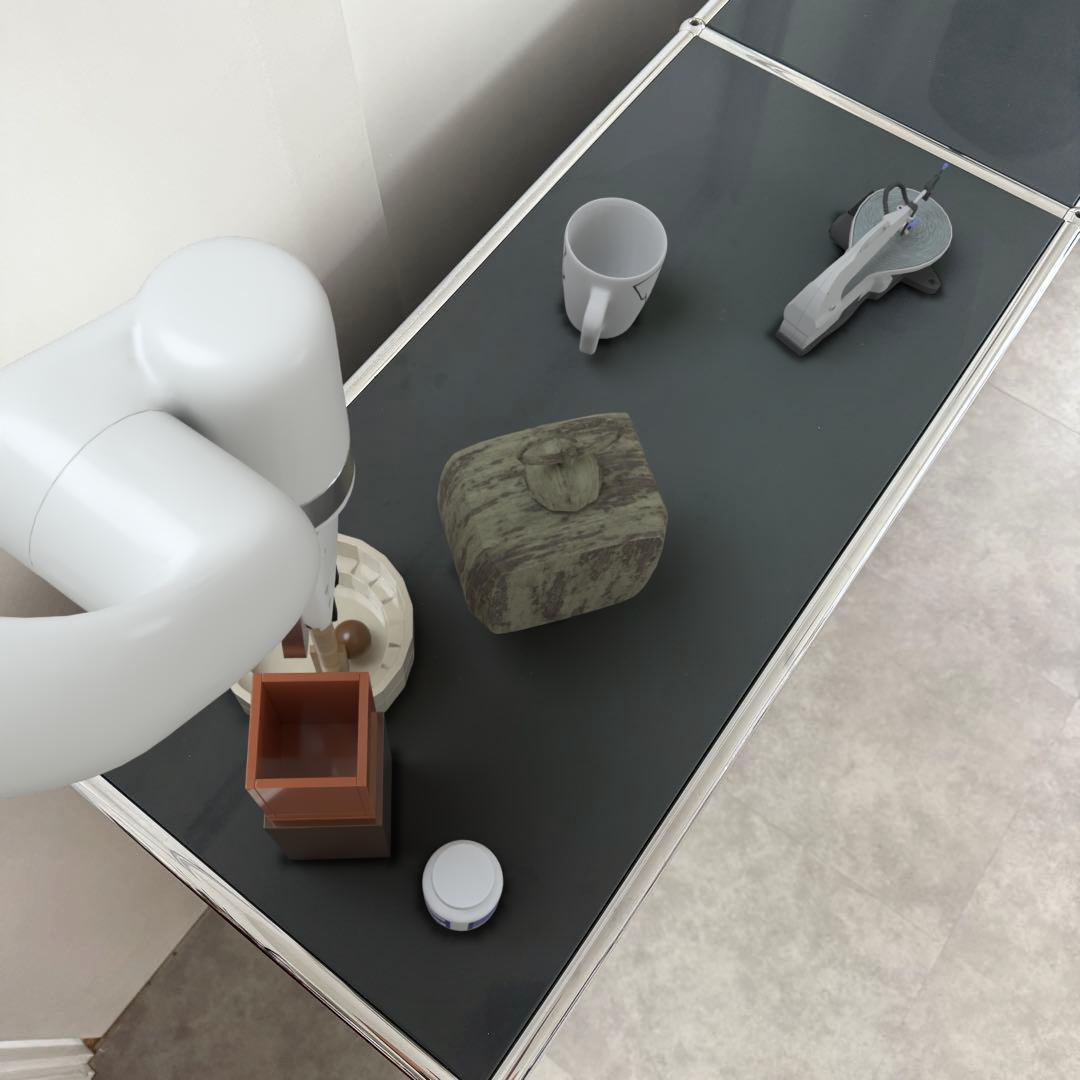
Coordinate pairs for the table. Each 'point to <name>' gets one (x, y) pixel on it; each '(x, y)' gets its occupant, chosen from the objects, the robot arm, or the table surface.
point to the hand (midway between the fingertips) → (312, 599)
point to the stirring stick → (327, 651)
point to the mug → (610, 266)
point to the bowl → (371, 599)
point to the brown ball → (354, 638)
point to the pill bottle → (462, 885)
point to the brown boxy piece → (320, 764)
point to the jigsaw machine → (871, 260)
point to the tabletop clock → (552, 521)
